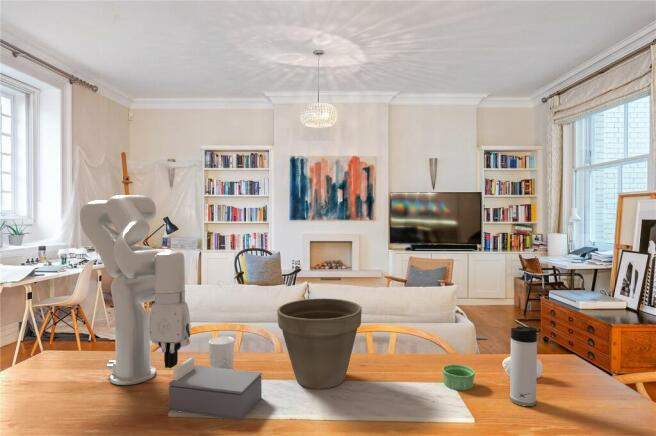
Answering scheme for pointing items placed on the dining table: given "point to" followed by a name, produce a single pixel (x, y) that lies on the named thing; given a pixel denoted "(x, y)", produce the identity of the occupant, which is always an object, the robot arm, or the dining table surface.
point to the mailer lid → (212, 378)
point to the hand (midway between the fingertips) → (171, 366)
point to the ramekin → (458, 377)
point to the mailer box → (215, 401)
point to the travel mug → (523, 365)
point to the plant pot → (319, 339)
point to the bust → (507, 367)
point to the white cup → (221, 352)
